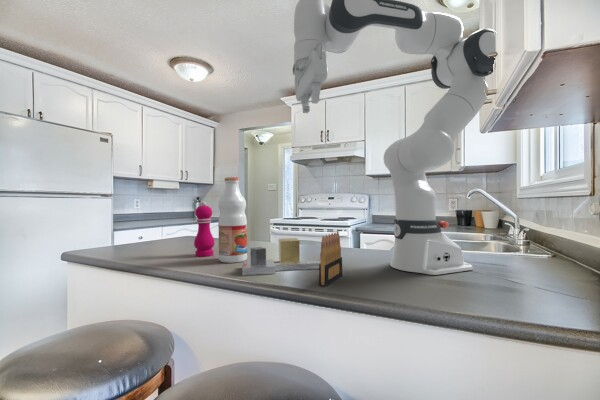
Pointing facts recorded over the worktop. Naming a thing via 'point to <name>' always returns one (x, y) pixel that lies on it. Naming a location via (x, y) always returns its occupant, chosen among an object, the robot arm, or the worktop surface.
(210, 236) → the pepper mill
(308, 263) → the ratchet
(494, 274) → the worktop surface
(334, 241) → the ammunition clip
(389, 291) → the worktop surface
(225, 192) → the fruit juice
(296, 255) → the tan sponge block
